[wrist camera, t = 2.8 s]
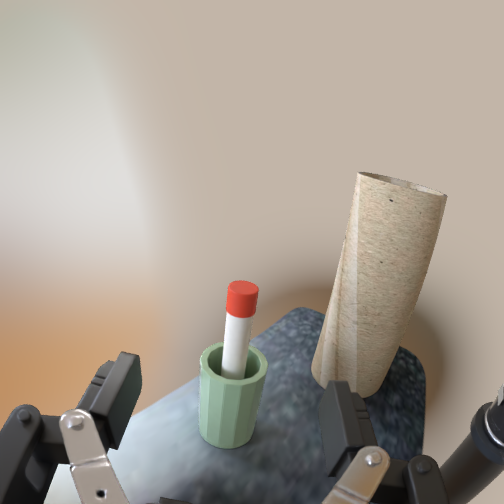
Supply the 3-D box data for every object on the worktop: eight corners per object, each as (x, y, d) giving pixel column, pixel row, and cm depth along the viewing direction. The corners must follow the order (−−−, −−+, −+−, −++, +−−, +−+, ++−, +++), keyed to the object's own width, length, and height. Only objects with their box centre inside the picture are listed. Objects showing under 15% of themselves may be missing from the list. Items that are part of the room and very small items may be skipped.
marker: (239, 419, 30) (261, 283, 24) (234, 434, 28) (255, 297, 22) (218, 414, 30) (232, 277, 24) (212, 429, 28) (224, 290, 22)
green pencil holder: (258, 414, 31) (272, 349, 28) (246, 455, 26) (260, 392, 23) (208, 402, 32) (212, 335, 29) (190, 440, 27) (190, 374, 23)
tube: (327, 404, 33) (394, 186, 24) (301, 353, 42) (341, 167, 34) (394, 391, 36) (465, 201, 27) (361, 347, 45) (409, 180, 36)
